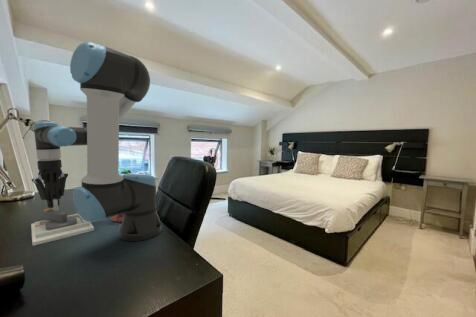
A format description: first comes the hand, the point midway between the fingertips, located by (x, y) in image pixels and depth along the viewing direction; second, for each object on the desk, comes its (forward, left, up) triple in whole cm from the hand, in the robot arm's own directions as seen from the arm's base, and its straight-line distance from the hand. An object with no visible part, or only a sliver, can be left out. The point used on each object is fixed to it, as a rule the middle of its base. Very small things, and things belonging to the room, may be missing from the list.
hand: (54, 214), depth 92 cm
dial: (-5, -1, -3) cm, 6 cm away
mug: (-14, -24, -5) cm, 28 cm away
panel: (-8, -2, -4) cm, 9 cm away
